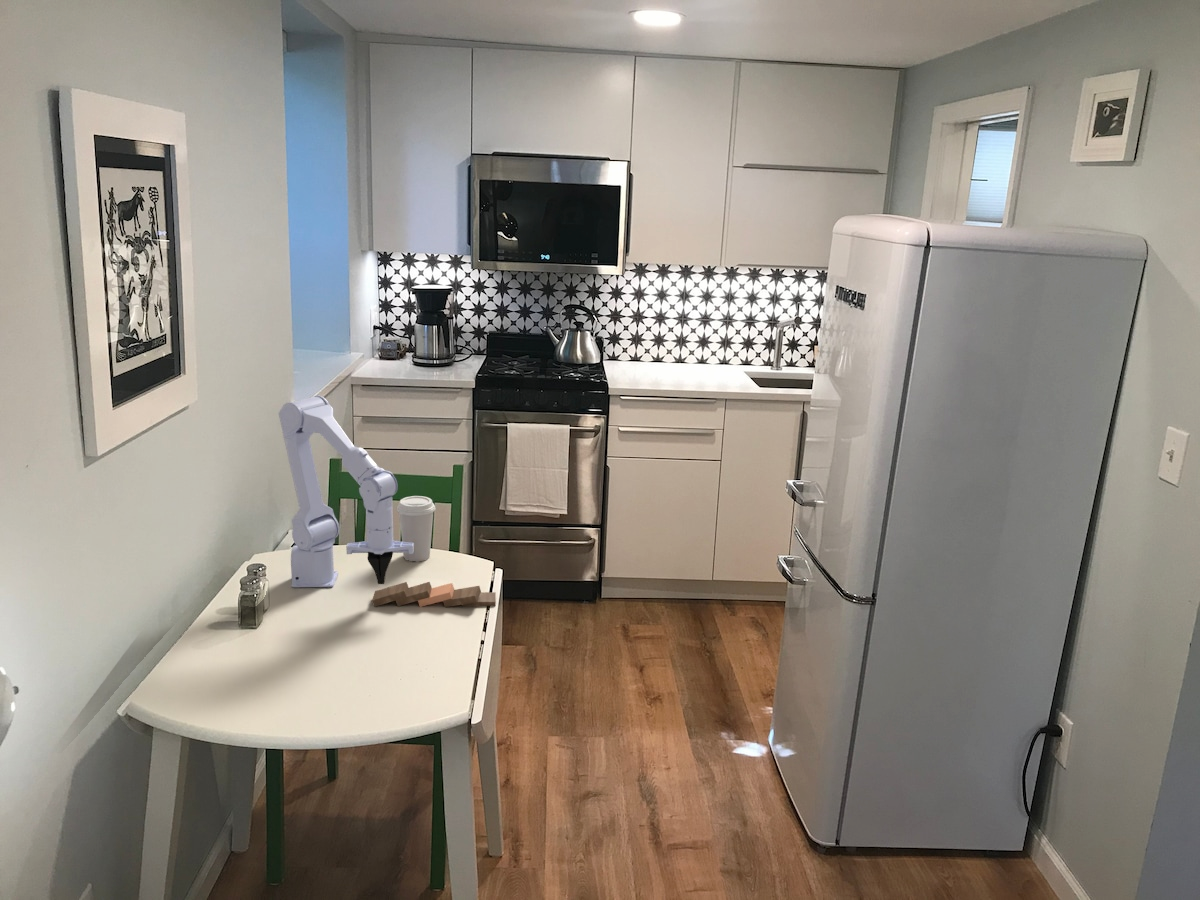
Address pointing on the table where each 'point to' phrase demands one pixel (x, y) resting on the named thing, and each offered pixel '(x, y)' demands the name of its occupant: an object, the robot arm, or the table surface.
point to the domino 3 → (438, 595)
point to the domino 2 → (416, 594)
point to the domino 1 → (390, 594)
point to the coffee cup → (416, 525)
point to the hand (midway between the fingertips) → (381, 582)
